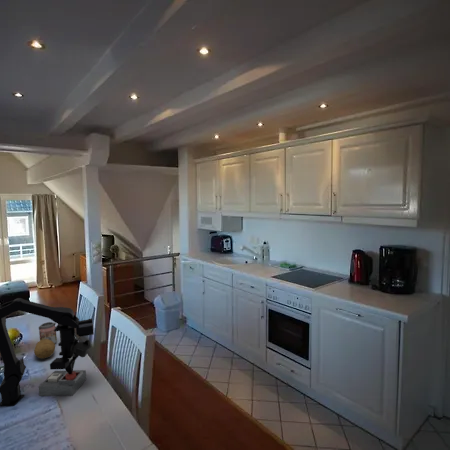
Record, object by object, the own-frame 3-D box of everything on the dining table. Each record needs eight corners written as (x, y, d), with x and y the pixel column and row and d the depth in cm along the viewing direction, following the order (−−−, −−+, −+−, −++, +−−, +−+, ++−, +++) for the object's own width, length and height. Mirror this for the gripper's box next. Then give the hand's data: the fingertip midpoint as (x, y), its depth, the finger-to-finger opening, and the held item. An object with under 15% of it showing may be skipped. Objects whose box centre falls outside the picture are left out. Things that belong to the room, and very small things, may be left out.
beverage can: (38, 344, 178) (37, 323, 177) (55, 339, 183) (53, 319, 182) (41, 350, 170) (39, 328, 169) (58, 345, 175) (56, 324, 174)
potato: (53, 348, 172) (52, 334, 171) (58, 358, 161) (57, 343, 160) (32, 354, 166) (31, 339, 165) (36, 365, 155) (34, 349, 154)
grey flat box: (72, 395, 130) (71, 384, 129) (39, 396, 130) (38, 384, 130) (86, 378, 141) (85, 368, 141) (55, 379, 142) (54, 368, 142)
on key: (57, 389, 134) (56, 378, 133) (48, 389, 134) (47, 378, 133) (62, 383, 138) (61, 373, 137) (53, 384, 138) (52, 373, 137)
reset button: (73, 387, 133) (72, 376, 133) (64, 387, 134) (63, 376, 133) (78, 381, 137) (77, 371, 137) (69, 381, 138) (68, 371, 137)
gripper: (75, 349, 124) (78, 386, 126) (96, 329, 143) (98, 362, 144) (47, 349, 125) (50, 387, 126) (72, 329, 143) (74, 362, 144)
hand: (70, 373), depth 135 cm, fingers closed, pressing on reset button
